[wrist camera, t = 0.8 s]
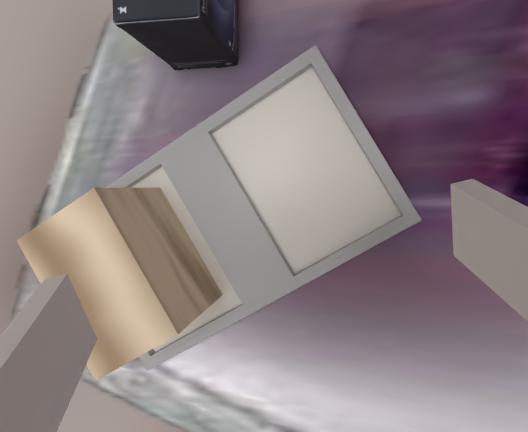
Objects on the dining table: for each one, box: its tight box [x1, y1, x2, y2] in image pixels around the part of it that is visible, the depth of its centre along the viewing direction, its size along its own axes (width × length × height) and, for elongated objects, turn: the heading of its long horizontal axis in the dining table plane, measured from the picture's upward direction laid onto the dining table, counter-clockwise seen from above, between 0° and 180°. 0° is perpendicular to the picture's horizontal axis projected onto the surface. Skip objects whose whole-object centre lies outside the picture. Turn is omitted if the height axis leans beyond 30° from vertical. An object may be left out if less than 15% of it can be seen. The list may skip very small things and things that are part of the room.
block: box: [17, 188, 223, 381], centre depth 32 cm, size 7×11×10 cm, turn 31°
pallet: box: [105, 45, 421, 371], centre depth 36 cm, size 27×16×2 cm, turn 121°
